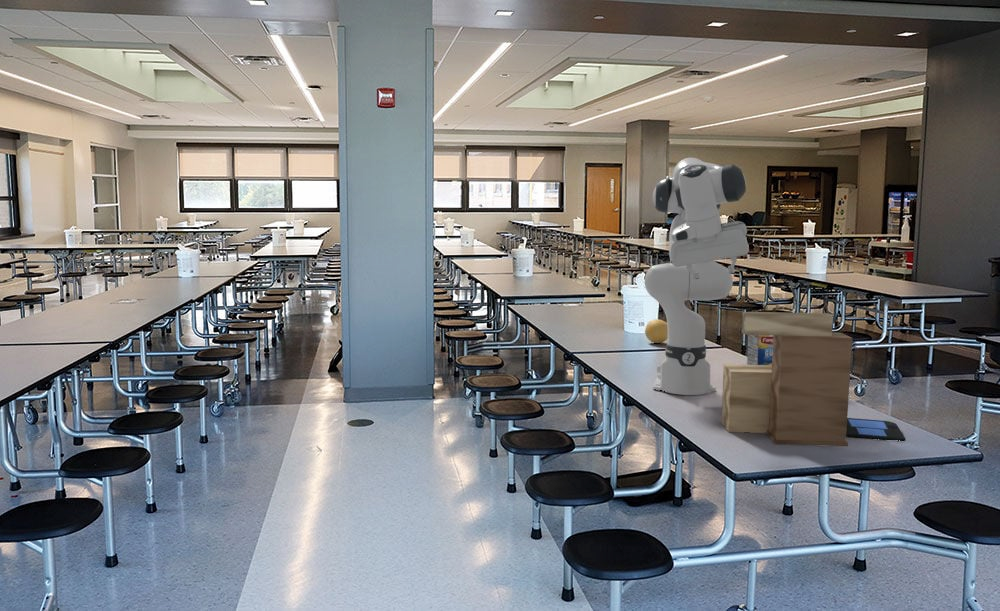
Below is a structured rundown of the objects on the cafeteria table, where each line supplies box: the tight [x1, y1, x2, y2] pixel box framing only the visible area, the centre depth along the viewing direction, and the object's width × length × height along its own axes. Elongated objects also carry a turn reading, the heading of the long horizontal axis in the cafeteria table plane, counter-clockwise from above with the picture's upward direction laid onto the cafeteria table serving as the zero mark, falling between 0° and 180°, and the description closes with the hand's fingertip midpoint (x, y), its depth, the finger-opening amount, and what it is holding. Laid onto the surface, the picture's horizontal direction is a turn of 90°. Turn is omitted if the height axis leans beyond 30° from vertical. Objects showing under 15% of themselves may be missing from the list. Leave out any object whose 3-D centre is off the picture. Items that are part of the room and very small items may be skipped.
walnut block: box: [765, 332, 853, 448], centre depth 187 cm, size 8×17×26 cm, turn 85°
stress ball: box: [644, 318, 668, 344], centre depth 317 cm, size 10×10×10 cm
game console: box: [846, 417, 906, 442], centre depth 196 cm, size 14×13×2 cm
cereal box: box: [746, 335, 773, 365], centre depth 248 cm, size 7×11×22 cm, turn 100°
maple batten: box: [741, 311, 834, 336], centre depth 186 cm, size 4×20×5 cm, turn 85°
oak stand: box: [721, 363, 772, 434], centre depth 198 cm, size 9×22×17 cm, turn 85°
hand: (713, 275), depth 210 cm, fingers open, 8 cm apart
